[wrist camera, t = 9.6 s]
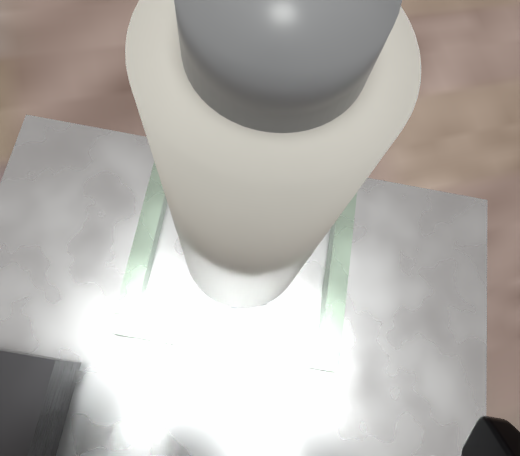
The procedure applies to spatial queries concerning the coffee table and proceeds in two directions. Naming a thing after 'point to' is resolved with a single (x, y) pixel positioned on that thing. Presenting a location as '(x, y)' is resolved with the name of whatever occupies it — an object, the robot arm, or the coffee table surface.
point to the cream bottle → (266, 124)
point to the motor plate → (228, 320)
